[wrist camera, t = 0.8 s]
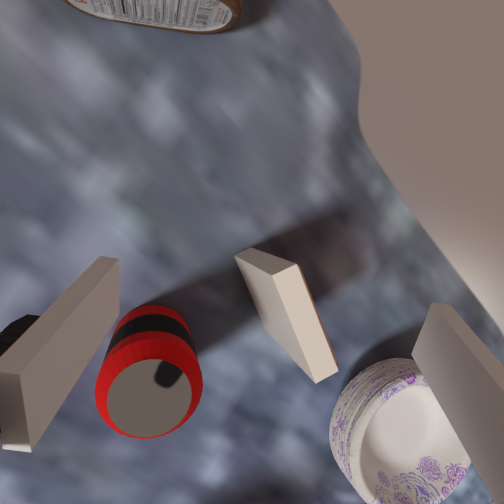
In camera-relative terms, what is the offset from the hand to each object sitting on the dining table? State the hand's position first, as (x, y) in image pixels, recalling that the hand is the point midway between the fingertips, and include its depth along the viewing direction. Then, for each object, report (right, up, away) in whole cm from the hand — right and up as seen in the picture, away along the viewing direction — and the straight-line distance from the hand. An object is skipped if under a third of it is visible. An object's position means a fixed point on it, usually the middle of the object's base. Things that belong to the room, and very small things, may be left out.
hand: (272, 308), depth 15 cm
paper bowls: (+14, -17, +29) cm, 36 cm away
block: (0, -2, +24) cm, 24 cm away
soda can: (-11, -7, +22) cm, 25 cm away
